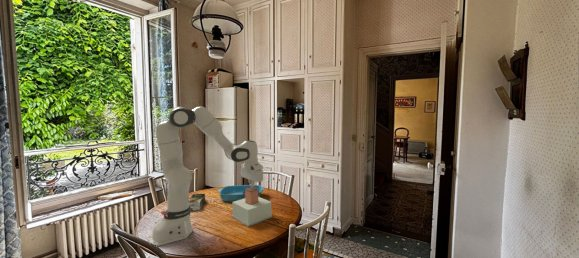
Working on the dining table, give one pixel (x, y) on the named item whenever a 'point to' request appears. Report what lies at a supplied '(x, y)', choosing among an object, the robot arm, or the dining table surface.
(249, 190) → the plunger
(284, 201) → the dining table surface
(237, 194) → the casserole dish
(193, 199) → the juice carton
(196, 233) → the dining table surface
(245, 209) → the housing
